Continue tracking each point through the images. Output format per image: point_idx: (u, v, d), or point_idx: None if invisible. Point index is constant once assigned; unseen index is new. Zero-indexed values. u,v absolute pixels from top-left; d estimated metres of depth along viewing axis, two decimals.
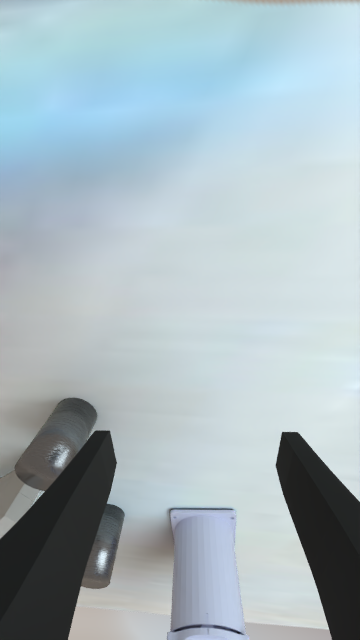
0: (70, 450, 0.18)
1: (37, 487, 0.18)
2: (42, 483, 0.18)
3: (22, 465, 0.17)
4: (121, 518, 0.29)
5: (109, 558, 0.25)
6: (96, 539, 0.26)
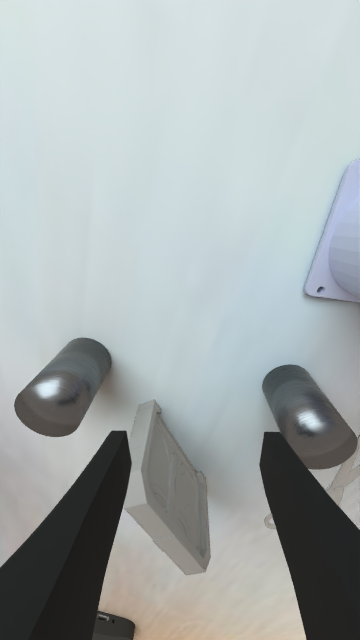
0: (44, 373, 0.15)
1: (73, 426, 0.14)
2: (65, 418, 0.14)
3: (32, 424, 0.15)
4: (291, 370, 0.18)
5: (305, 408, 0.15)
6: (277, 411, 0.17)
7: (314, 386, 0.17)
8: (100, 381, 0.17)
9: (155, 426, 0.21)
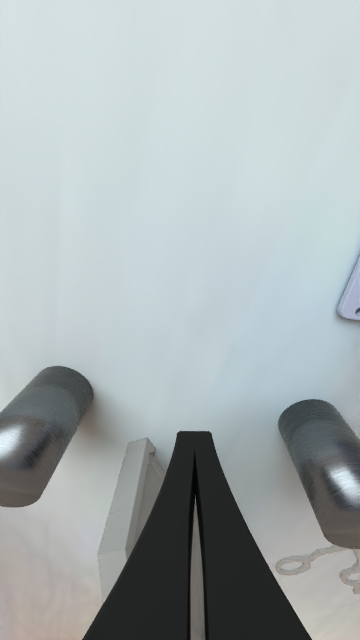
0: None
1: (34, 496, 0.11)
2: (21, 487, 0.11)
3: None
4: (316, 408, 0.15)
5: (343, 470, 0.11)
6: (302, 466, 0.13)
7: (349, 433, 0.13)
8: (76, 424, 0.14)
9: (147, 470, 0.17)
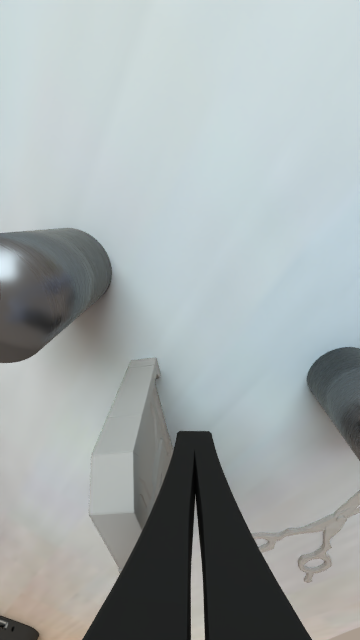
0: None
1: (31, 346, 0.07)
2: (17, 326, 0.07)
3: None
4: None
5: None
6: (349, 404, 0.11)
7: None
8: (91, 297, 0.10)
9: None
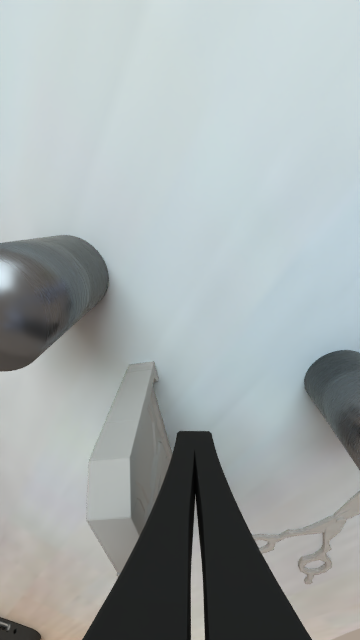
0: None
1: (27, 355, 0.08)
2: (14, 336, 0.07)
3: None
4: (359, 357, 0.13)
5: None
6: (345, 408, 0.11)
7: None
8: (88, 304, 0.11)
9: None
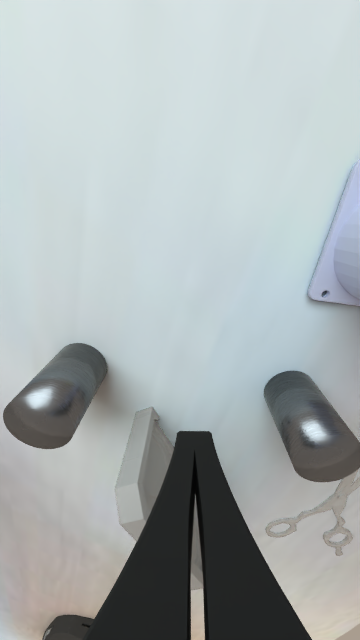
0: (35, 382, 0.14)
1: (66, 438, 0.14)
2: (57, 430, 0.13)
3: (23, 436, 0.14)
4: (294, 377, 0.18)
5: (310, 418, 0.14)
6: (280, 420, 0.16)
7: (318, 394, 0.16)
8: (95, 389, 0.17)
9: (153, 434, 0.20)
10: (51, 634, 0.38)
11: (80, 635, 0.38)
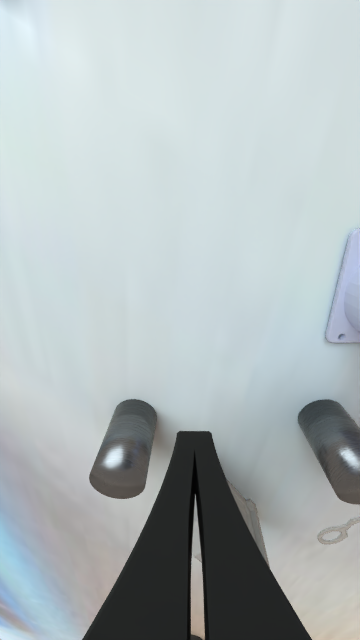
0: (108, 446, 0.17)
1: (140, 489, 0.17)
2: (132, 484, 0.17)
3: (105, 491, 0.17)
4: (323, 406, 0.20)
5: (344, 450, 0.16)
6: (317, 450, 0.18)
7: (349, 423, 0.18)
8: (152, 439, 0.20)
9: None
10: None
11: None
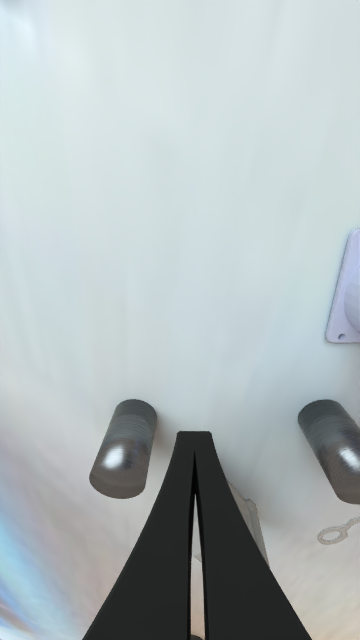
0: (108, 446, 0.17)
1: (140, 489, 0.17)
2: (132, 484, 0.17)
3: (105, 491, 0.17)
4: (323, 406, 0.20)
5: (344, 450, 0.16)
6: (317, 451, 0.18)
7: (349, 423, 0.18)
8: (152, 439, 0.20)
9: None
10: None
11: None
